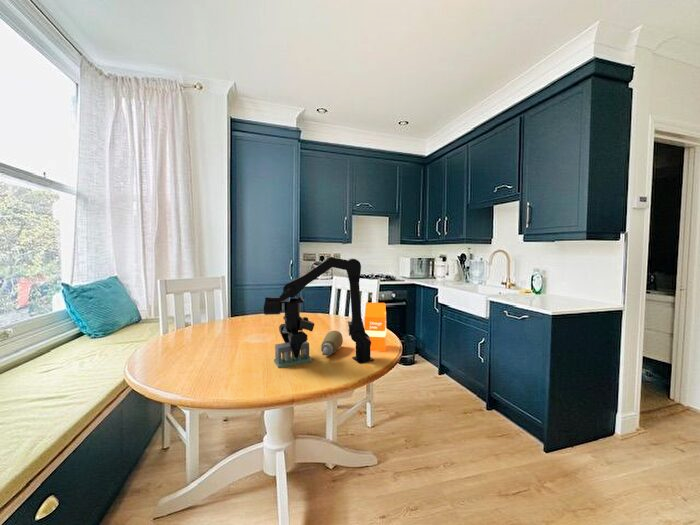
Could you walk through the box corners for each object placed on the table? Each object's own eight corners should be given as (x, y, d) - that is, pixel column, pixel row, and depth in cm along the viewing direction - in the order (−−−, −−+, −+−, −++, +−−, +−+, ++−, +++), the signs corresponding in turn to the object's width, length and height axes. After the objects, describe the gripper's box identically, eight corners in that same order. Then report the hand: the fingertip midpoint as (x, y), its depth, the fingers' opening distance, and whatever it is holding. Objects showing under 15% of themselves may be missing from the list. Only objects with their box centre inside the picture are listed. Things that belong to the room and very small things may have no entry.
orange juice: (384, 351, 127) (384, 304, 126) (364, 350, 129) (364, 303, 128) (386, 345, 135) (386, 301, 134) (367, 344, 136) (366, 300, 135)
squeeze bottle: (346, 344, 133) (335, 362, 116) (329, 346, 135) (316, 364, 118) (342, 326, 133) (331, 342, 115) (325, 329, 134) (312, 345, 117)
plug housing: (305, 354, 121) (304, 339, 120) (309, 358, 116) (309, 343, 116) (275, 359, 115) (275, 344, 115) (278, 364, 111) (278, 348, 111)
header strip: (306, 356, 122) (305, 345, 122) (311, 361, 116) (311, 350, 115) (274, 361, 116) (273, 350, 116) (278, 367, 110) (278, 355, 110)
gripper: (320, 316, 110) (321, 358, 111) (304, 308, 127) (305, 344, 128) (290, 320, 105) (291, 363, 106) (278, 310, 122) (279, 348, 123)
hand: (292, 354), depth 116 cm, fingers open, 9 cm apart
